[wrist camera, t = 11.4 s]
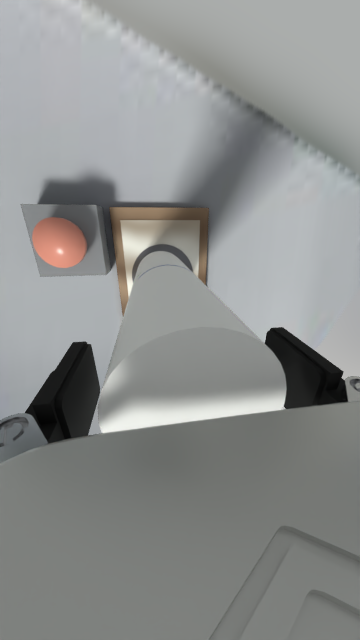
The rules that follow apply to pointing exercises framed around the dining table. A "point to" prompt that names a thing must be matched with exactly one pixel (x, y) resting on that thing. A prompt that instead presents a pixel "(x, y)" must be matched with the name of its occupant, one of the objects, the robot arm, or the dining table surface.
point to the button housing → (89, 224)
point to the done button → (59, 242)
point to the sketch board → (157, 239)
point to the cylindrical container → (184, 355)
